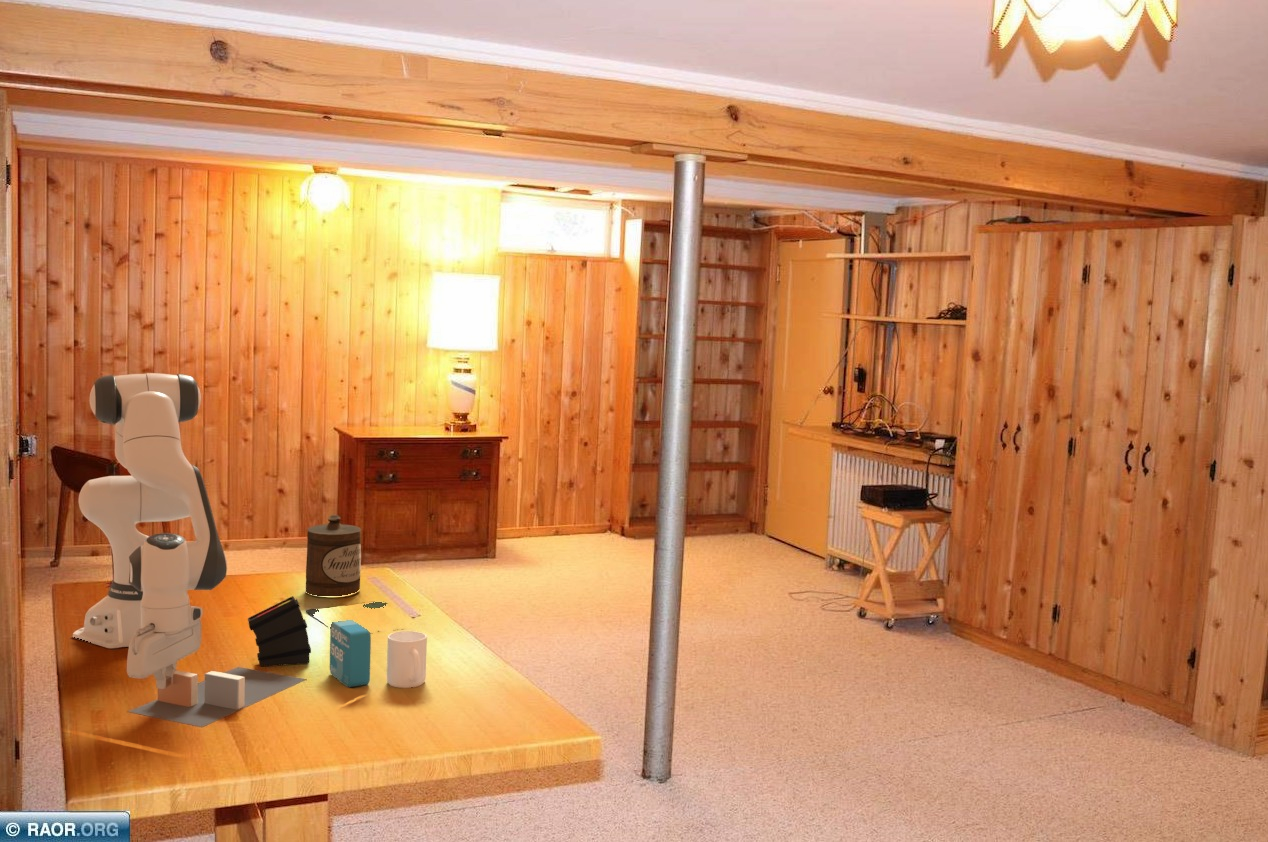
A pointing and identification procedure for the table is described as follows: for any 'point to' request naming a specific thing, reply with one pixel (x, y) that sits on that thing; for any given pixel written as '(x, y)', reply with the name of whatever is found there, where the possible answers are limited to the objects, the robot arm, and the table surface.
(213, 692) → the light grey flat block
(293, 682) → the mat
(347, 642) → the data package
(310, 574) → the wooden container
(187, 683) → the peach flat block
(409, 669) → the mug
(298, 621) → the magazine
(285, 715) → the table surface
